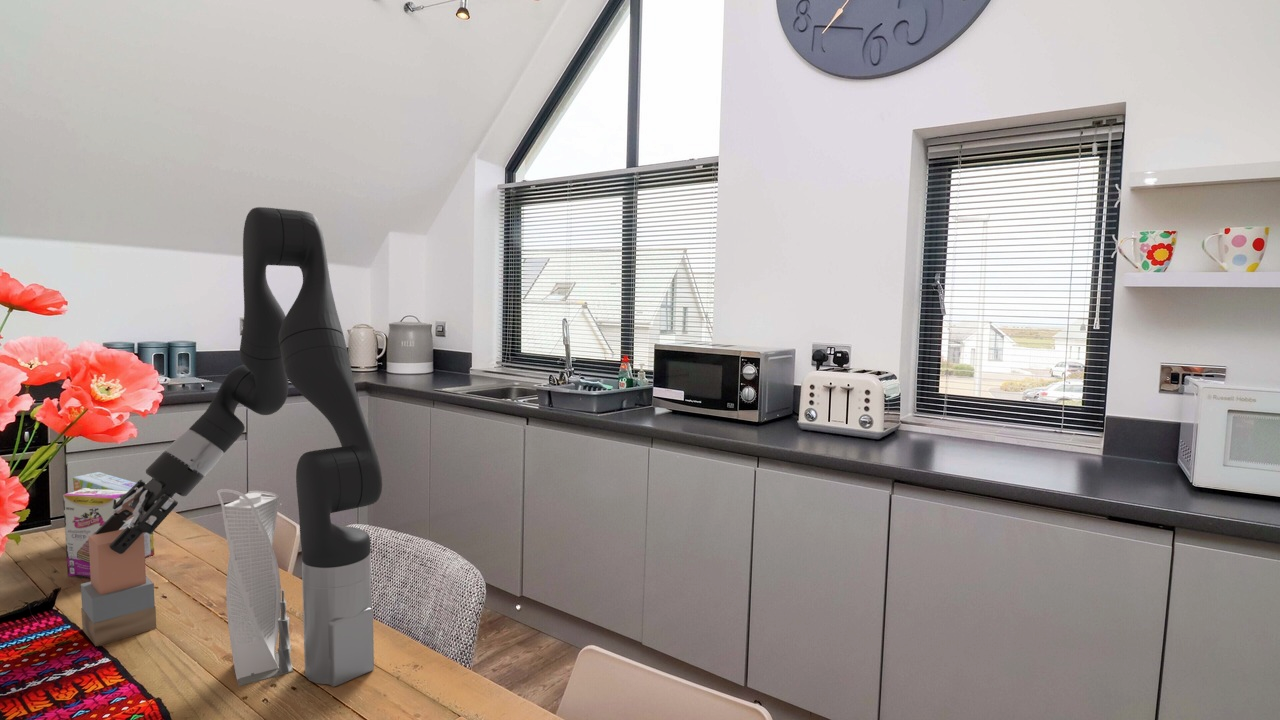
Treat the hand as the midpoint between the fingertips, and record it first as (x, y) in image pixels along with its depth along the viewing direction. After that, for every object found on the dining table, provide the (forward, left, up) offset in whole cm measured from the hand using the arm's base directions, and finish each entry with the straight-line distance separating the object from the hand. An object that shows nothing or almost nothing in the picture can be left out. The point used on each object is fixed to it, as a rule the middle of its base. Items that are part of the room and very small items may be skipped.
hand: (107, 544), depth 110 cm
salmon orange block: (0, -1, -7) cm, 7 cm away
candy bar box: (+28, -5, -15) cm, 32 cm away
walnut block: (0, -1, -15) cm, 15 cm away
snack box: (+42, -10, -15) cm, 46 cm away
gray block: (0, -1, -11) cm, 11 cm away
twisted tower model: (-29, -11, -15) cm, 34 cm away
